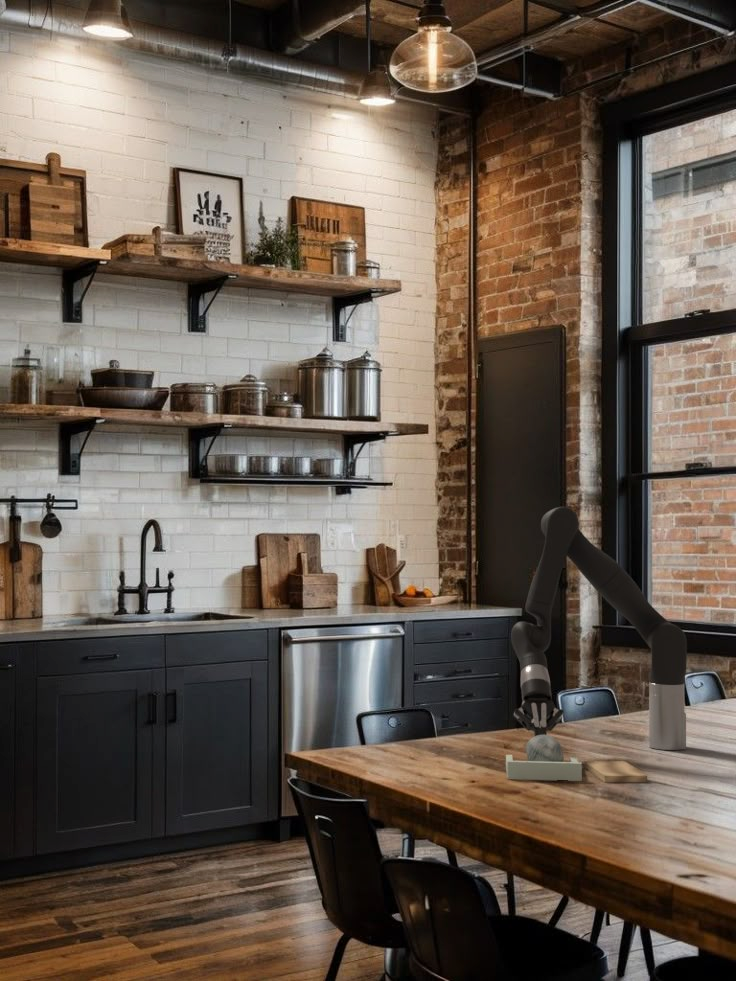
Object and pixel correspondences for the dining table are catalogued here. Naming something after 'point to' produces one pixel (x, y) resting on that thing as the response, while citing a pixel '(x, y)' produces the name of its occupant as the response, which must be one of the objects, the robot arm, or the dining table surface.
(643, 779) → the oak board
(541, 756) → the grey stone
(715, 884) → the dining table surface
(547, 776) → the cradle
